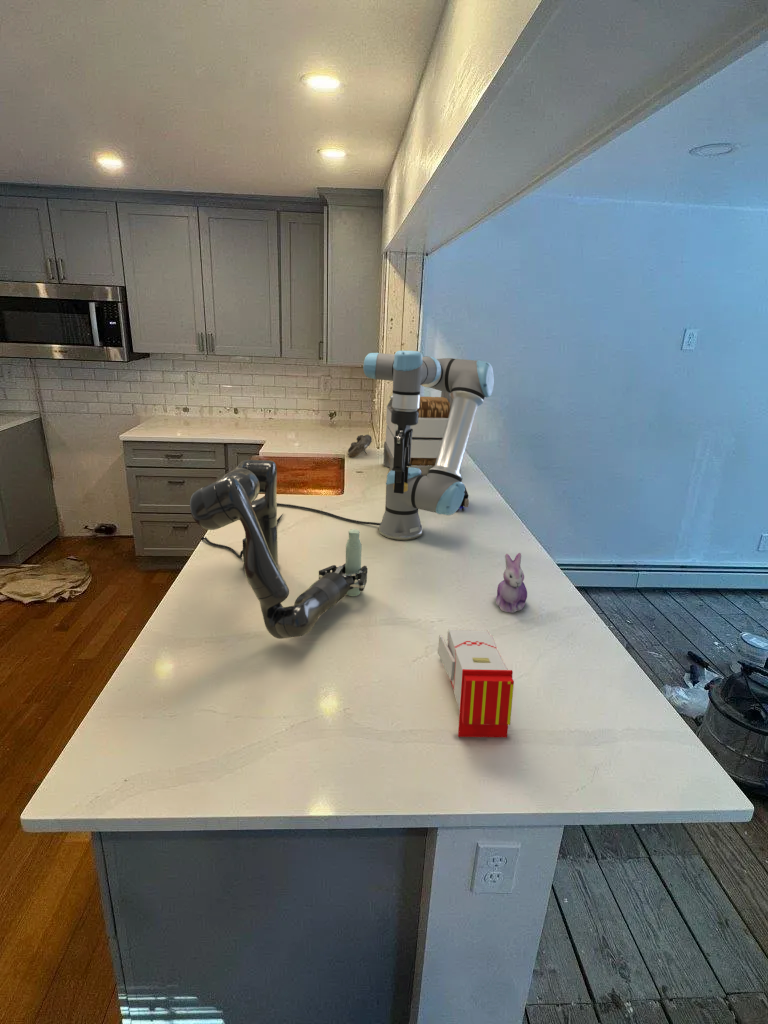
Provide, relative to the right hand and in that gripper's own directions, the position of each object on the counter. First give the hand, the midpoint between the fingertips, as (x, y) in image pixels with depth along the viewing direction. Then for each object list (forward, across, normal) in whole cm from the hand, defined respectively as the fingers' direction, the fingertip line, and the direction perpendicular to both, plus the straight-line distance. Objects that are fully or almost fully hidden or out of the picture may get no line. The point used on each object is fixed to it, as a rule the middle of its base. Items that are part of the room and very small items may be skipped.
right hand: (400, 490), depth 163 cm
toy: (+26, +52, +28) cm, 64 cm away
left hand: (+19, +15, -8) cm, 25 cm away
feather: (+25, -29, -51) cm, 64 cm away
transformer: (+25, -109, -14) cm, 113 cm away
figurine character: (+25, -66, +10) cm, 71 cm away
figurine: (+26, +11, +35) cm, 44 cm away
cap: (-2, 0, 0) cm, 2 cm away
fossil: (+25, -134, -52) cm, 146 cm away
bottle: (+26, +18, -8) cm, 32 cm away
